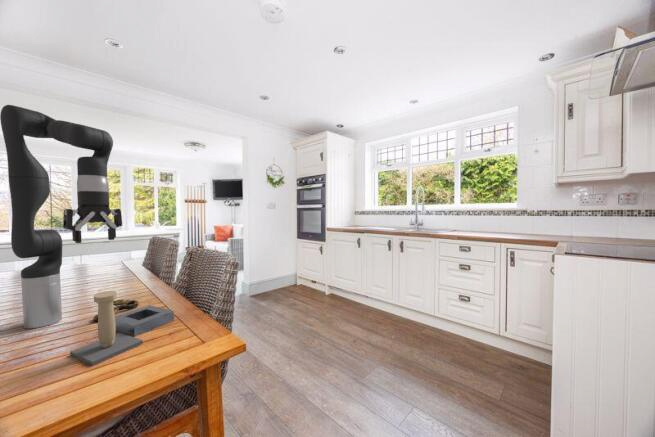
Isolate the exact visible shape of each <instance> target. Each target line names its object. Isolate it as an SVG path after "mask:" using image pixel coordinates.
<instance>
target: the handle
mask: <svg viewBox="0 0 655 437" xmlns="http://www.w3.org/2000/svg"><path fill="white" fill-rule="evenodd" d="M117 293H118V292H117V291H115V290H106V291H100V292H97V293H96V294H94V295H93V301H94V303H97V310H98V311H97V315H98V321H97V335H98V341H100V342H101V343H100V347H101V348H102V347H104V348H107V347H110V346H112V345H113V344H114V343H115V339H114V338H115V334H117V333H116V332H117V331H116V324H115V315H116V314H115V315H114V308H115V307H114V306H115V305H113V301H115V299H117V296H118V294H117Z"/></svg>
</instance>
